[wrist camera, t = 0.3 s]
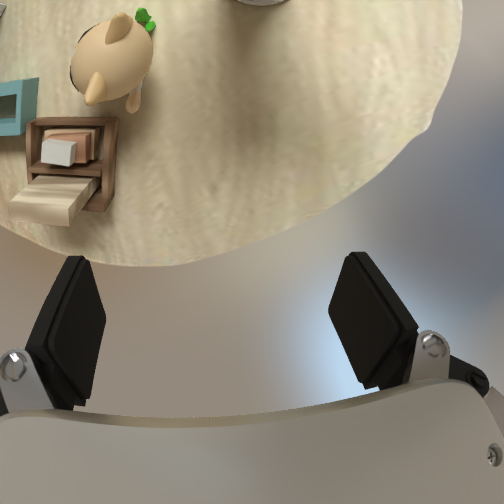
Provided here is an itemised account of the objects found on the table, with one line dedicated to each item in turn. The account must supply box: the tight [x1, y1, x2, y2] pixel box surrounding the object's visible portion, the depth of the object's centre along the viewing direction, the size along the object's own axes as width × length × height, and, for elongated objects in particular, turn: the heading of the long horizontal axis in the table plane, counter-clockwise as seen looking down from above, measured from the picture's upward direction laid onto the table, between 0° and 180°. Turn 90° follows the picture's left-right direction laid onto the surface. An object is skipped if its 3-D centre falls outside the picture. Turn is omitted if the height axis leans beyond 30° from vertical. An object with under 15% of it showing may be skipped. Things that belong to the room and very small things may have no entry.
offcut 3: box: [45, 132, 92, 164], centre depth 34 cm, size 4×7×2 cm, turn 80°
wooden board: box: [7, 173, 101, 227], centre depth 35 cm, size 2×10×14 cm, turn 77°
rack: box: [26, 117, 119, 212], centre depth 36 cm, size 13×15×6 cm
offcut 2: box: [45, 127, 100, 160], centre depth 36 cm, size 4×9×3 cm, turn 77°
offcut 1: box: [41, 139, 77, 166], centre depth 32 cm, size 3×5×2 cm, turn 71°
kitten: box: [70, 8, 156, 114], centre depth 26 cm, size 15×10×15 cm
